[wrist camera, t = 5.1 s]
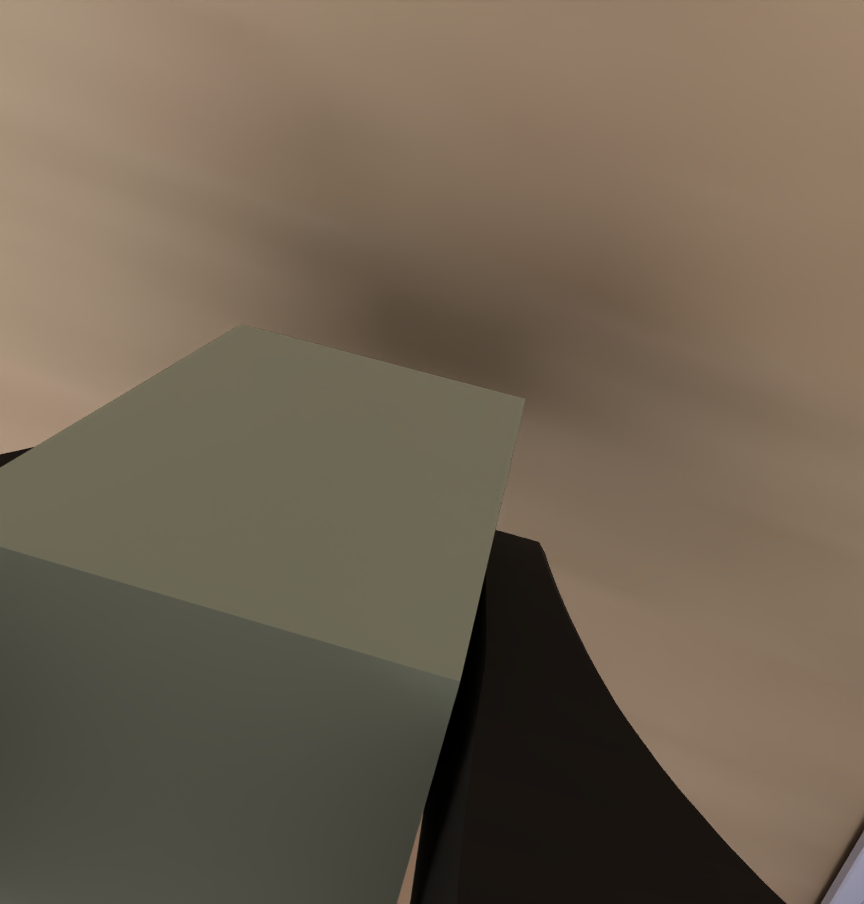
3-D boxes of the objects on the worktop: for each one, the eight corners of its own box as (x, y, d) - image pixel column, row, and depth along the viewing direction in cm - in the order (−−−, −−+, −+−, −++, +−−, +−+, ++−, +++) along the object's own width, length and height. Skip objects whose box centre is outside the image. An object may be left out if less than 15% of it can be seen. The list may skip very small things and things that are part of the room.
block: (525, 399, 11) (460, 680, 5) (459, 639, 13) (357, 1044, 7) (241, 323, 11) (-89, 520, 6) (212, 568, 13) (-68, 902, 7)
